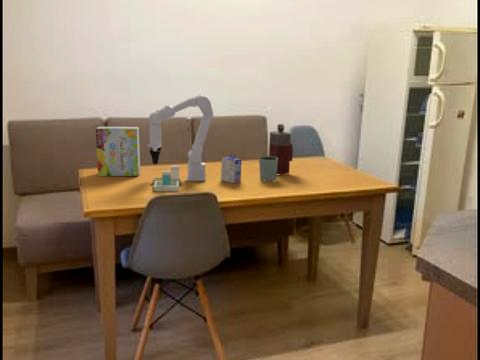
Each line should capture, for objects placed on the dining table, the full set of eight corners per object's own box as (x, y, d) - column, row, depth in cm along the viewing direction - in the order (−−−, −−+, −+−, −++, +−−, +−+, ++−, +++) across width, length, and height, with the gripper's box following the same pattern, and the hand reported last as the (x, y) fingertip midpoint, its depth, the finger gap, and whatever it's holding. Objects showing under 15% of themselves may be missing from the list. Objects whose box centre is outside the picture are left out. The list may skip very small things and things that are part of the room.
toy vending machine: (292, 174, 282) (295, 124, 275) (274, 175, 278) (277, 125, 271) (285, 170, 290) (288, 122, 283) (268, 172, 286) (270, 123, 279)
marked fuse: (170, 186, 245) (170, 170, 244) (170, 188, 243) (170, 172, 241) (162, 186, 245) (162, 170, 243) (162, 188, 242) (162, 172, 240)
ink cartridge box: (241, 182, 261) (242, 154, 258) (234, 183, 257) (234, 156, 254) (227, 178, 267) (228, 152, 264) (220, 180, 263) (221, 153, 260)
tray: (178, 185, 250) (178, 181, 249) (178, 191, 240) (178, 186, 239) (155, 185, 248) (155, 181, 248) (154, 191, 238) (153, 186, 238)
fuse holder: (181, 181, 258) (181, 176, 257) (181, 185, 251) (181, 180, 250) (153, 181, 256) (153, 176, 256) (152, 185, 249) (152, 180, 249)
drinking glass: (275, 182, 262) (276, 160, 259) (256, 181, 264) (257, 159, 261) (278, 178, 271) (279, 156, 268) (259, 177, 273) (260, 155, 270)
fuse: (179, 180, 256) (179, 165, 254) (179, 182, 253) (179, 166, 251) (171, 180, 255) (171, 165, 253) (171, 182, 252) (171, 166, 250)
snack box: (140, 173, 275) (139, 126, 268) (138, 176, 266) (137, 128, 260) (100, 172, 273) (98, 125, 267) (97, 176, 264) (95, 128, 258)
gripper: (148, 134, 261) (148, 159, 264) (146, 138, 247) (146, 165, 250) (162, 134, 262) (162, 159, 265) (160, 138, 248) (161, 165, 251)
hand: (155, 162), depth 257 cm, fingers open, 7 cm apart
